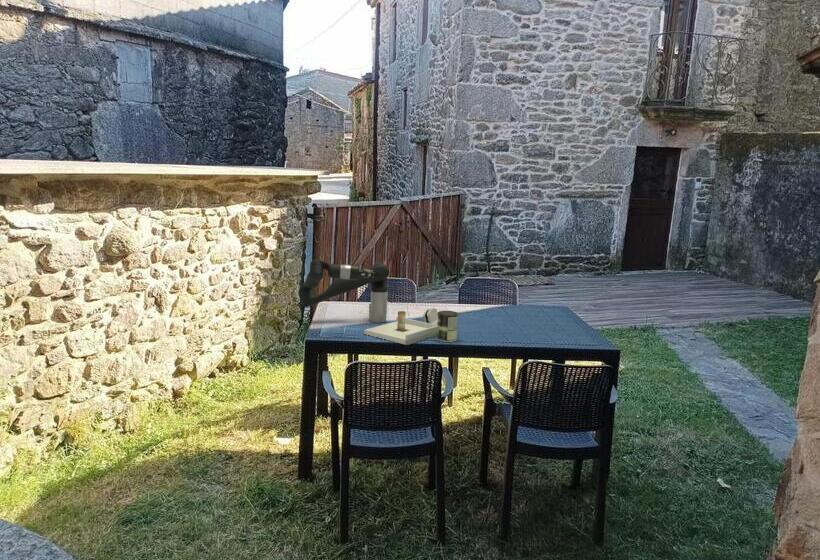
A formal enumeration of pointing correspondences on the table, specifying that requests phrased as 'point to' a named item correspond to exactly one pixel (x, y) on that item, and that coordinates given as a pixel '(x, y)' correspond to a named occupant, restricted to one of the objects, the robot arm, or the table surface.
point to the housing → (411, 335)
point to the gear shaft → (401, 321)
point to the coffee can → (447, 326)
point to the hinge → (431, 316)
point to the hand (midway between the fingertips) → (380, 274)
